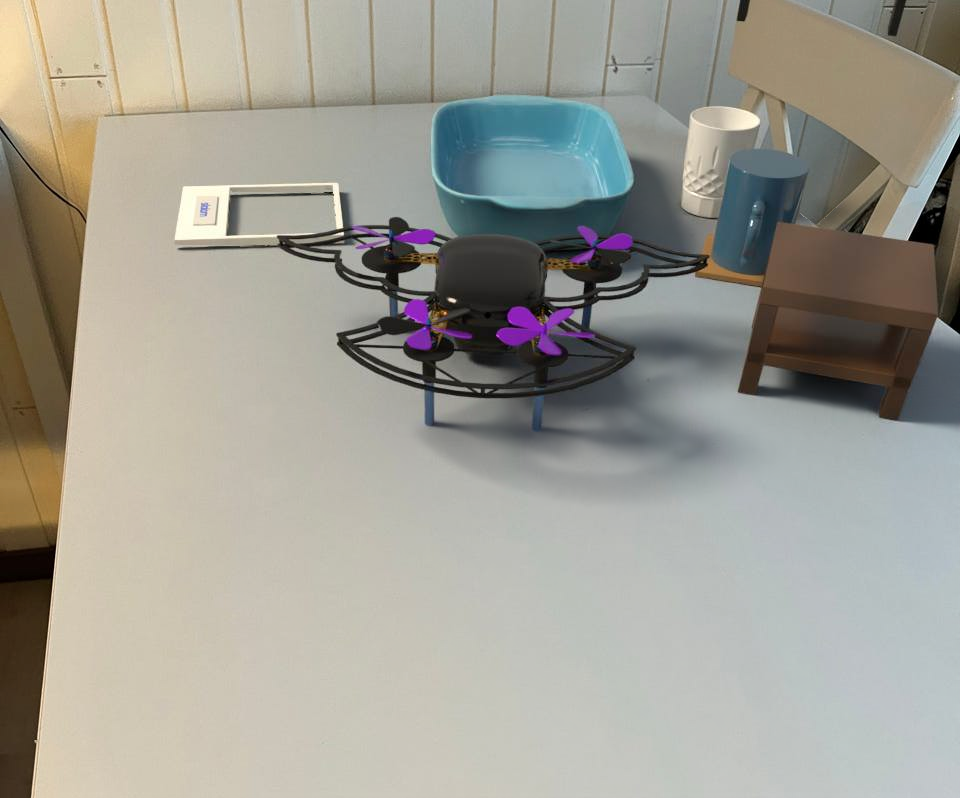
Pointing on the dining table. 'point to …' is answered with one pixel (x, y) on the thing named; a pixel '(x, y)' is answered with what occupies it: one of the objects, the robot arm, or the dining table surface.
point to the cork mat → (723, 274)
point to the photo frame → (209, 213)
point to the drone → (488, 302)
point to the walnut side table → (844, 309)
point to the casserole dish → (529, 167)
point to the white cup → (713, 155)
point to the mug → (756, 207)
